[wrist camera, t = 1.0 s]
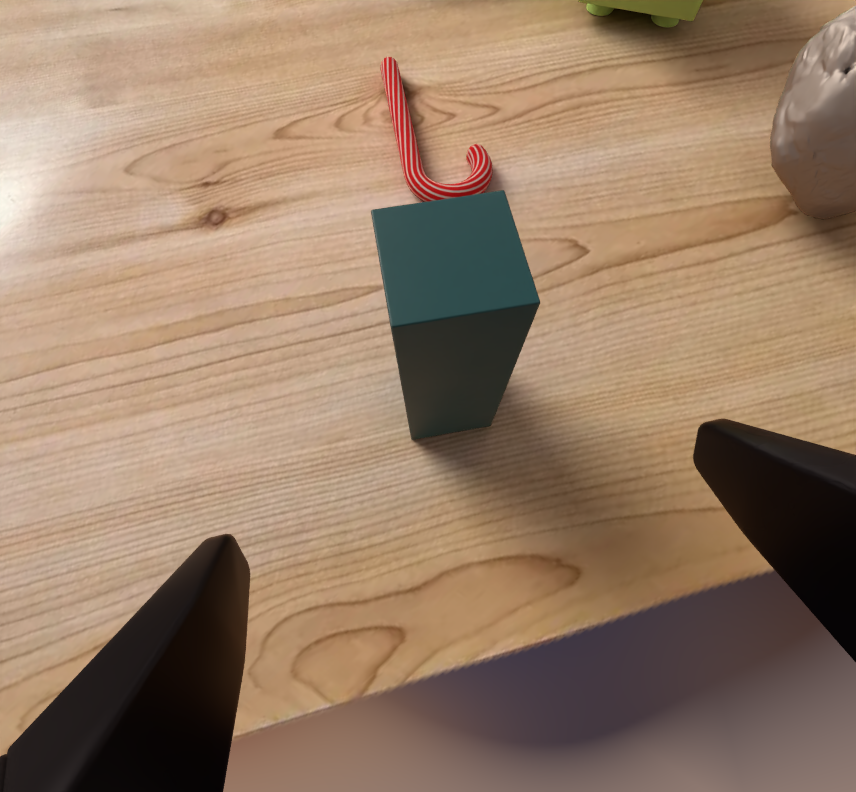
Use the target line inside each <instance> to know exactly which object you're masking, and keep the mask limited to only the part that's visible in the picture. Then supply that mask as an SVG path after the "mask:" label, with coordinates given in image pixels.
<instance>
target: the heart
mask: <svg viewBox="0 0 856 792" xmlns="http://www.w3.org/2000/svg"><path fill="white" fill-rule="evenodd" d="M770 149H771V157H772V167H773V169H774V170H775V172H776V173H777V175H778V177H779V178H780V180H781V181H782V183H783V184H784V185H785V186H786V188H787V189H788V191H789V192H790V193H791V195H792V197H793V200H794V202H795V204H796V205H797V207H798V208H799V209H800V210H801V211H802V212H803V213H804V214H806V215H808V216H812V217H814V218H820V219H828V218H831V217H835V216H839V215H843V214H847V213H851V212H855V211H856V6H854V7H852V8H851V9H849V10H847V11H846V12H844V13H842V14H840V15H839V16H838V17H836V18H835V19H833V20H832V21H829V22H828V23H826V24H825V25H823V26H822V27H821V28H820V32H818V33H817V34H816V35H814V36H813V37H812V38H811V39H810V40H809V41H808V42H807V43H806V44H805V45H804V46H803V48H802V49H801V50H800V51H799V53H798V55H797V57H796V59H795V61H794V62H793V64H792V66H791V69H790V71H789V73H788V76H787V80H786V84H785V87H784V90H783V92H782V94H781V96H780V99H779V102H778V106H777V109H776V113H775V115H774V119H773V126H772V132H771V137H770Z"/></svg>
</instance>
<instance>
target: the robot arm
mask: <svg viewBox="0 0 856 792" xmlns="http://www.w3.org/2000/svg"><path fill="white" fill-rule="evenodd" d="M693 460H694V464H695V466H696V468H697V470H698V471H699V473H700V474H701V476H702V477H703V478H704V480H705V481H706V483H707V484H708V485H709V487H710V488H711V490H712V491H713V492H714V494H715V495H716V496H717V498H718V499H719V501H720V502H721V503H722V505H723V506H724V508H725V509H726V510H727V512H728V513H729V515H730V516H731V517H732V519H733V520H734V521H735V523H736V524H737V525H738V527H739V528H740V529H741V531H742V532H743V533H744V535H745V536H746V537H747V538H748V539H749V541H750V542H751V543H752V544H753V545H754V547H755V548H756V549H757V550H758V551H759V552H760V553H761V555H762V556H763V557H764V558H765V559H766V560H767V561H768V563H769V564H770V565H771V566H772V567H773V568H774V569H775V571H776V572H777V573H778V574H779V575H780V576H781V577H782V579H784V581H785V582H786V583H787V584H788V585H789V587H790V588H791V589H792V590H793V591H794V592H795V593H796V595H797V596H798V597H799V598H800V599H801V600H802V601H803V602H804V604H805V605H806V606H807V607H808V608H809V609H810V611H811V612H812V613H813V614H814V615H815V616H816V617H817V619H818V620H819V621H820V622H821V623H822V624H823V625H824V627H825V628H826V629H827V630H828V631H829V632H830V633H831V635H832V636H833V637H834V638H835V639H836V640H837V641H838V643H839V644H840V645H841V646H842V647H843V648H844V649H845V651H846V652H847V653H848V654H849V655H850V656H851V657H852V658H853V660H854V661H855V662H856V455H854V454H850V453H847V452H843V451H839V450H836V449H832V448H829V447H825V446H821V445H818V444H814V443H811V442H807V441H803V440H800V439H796V438H793V437H789V436H785V435H782V434H778V433H775V432H771V431H767V430H764V429H760V428H757V427H753V426H749V425H746V424H742V423H739V422H735V421H731V420H728V419H717V420H713V421H709V422H705V423H703V424H701V425H700V427H699V429H698V433H697V438H696V444H695V449H694V454H693ZM249 587H250V569H249V565H248V562H247V560H246V558H245V557H244V555H243V553H242V551H241V549H240V547H239V545H238V543H237V542H236V540H235V538H234V537H233V536H232V535H231V534H223V535H219V536H215V537H211V538H208V539H206V540H205V541H204V542H202V544H201V545H200V546H199V547H198V548H197V549H196V550H195V551H194V552H193V553H192V554H191V555H190V556H189V557H188V558H187V559H186V561H185V562H184V563H183V564H182V565H181V566H180V567H179V568H178V569H177V570H176V571H175V572H174V573H173V574H172V575H171V576H170V577H169V579H168V580H167V581H166V582H165V583H164V584H163V585H162V586H161V587H160V588H159V589H158V590H157V591H156V592H155V593H154V594H153V596H152V597H151V598H150V599H149V600H148V601H147V602H146V603H145V604H144V605H143V606H142V607H141V608H140V609H139V610H138V611H137V613H136V614H135V615H134V616H133V617H132V618H131V619H130V620H129V621H128V622H127V623H126V624H125V625H124V626H123V627H122V628H121V630H120V631H119V632H118V633H117V634H116V635H115V636H114V637H113V638H112V639H111V640H110V641H109V642H108V643H107V644H106V645H105V647H104V648H103V649H102V650H101V651H100V652H99V653H98V654H97V655H96V656H95V657H94V658H93V659H92V660H91V661H90V662H89V663H88V665H87V666H86V667H85V668H84V669H83V670H82V671H81V672H80V673H79V674H78V675H77V676H76V677H75V678H74V679H73V680H72V682H71V683H70V684H69V685H68V686H67V687H66V688H65V689H64V690H63V691H62V692H61V693H60V694H59V695H58V696H57V697H56V699H55V700H54V701H53V702H52V703H51V704H50V705H49V706H48V707H47V708H46V709H45V710H44V711H43V712H42V713H41V714H40V715H39V717H38V718H37V719H36V720H35V721H34V722H33V723H32V724H31V725H30V726H29V727H28V728H27V729H26V730H25V731H24V732H23V734H22V735H21V736H20V737H19V738H18V739H17V740H16V741H15V742H14V743H13V744H12V745H11V746H10V748H9V749H8V752H7V754H5V755H2V756H1V757H0V792H223V789H224V783H225V777H226V771H227V765H228V759H229V752H230V747H231V741H232V736H233V730H234V724H235V718H236V712H237V706H238V700H239V694H240V688H241V682H242V676H243V669H244V663H245V652H246V637H247V621H248V604H249Z"/></svg>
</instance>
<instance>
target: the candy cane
mask: <svg viewBox="0 0 856 792" xmlns="http://www.w3.org/2000/svg"><path fill="white" fill-rule="evenodd" d="M381 73H382V78H383V83H384V87H385V92H386V96H387V101H388V105H389V109H390V114H391V118H392V123H393V127H394V132H395V136H396V141H397V145H398V150H399V154H400V159H401V163H402V168H403V172H404V177H405V180H406V183H407V185H408V187H409V188H410V190H411V191H412V192H413V193H414V194H415V195H416V196H417V197H418V198H420V199H421V200H423V201H425V202H428V201H435V200H442V199H448V198H455V197H462V196H468V195H475V194H481V193H483V192H484V191H485V190H486V189H487V187H488V185H489V183H490V181H491V177H492V162H491V160H490V157H489V155H488V153H487V152H486V150H485V149H484V148H483V147H482V146H481V145H478V144H475V145H472V146H471V147H470V148H469V150H468V152H467V162H468V163H469V165H470V166H471V168H472V174H471V175H470V177H469V178H467V179H466V180H464V181H462V182H460V183H456V184H441V183H437V182H434V181H432V180H431V179H429V178H428V177H427V176H426V175H425V173H424V170H423V165H422V162H421V157H420V153H419V149H418V145H417V141H416V137H415V133H414V129H413V125H412V121H411V117H410V113H409V109H408V105H407V101H406V96H405V92H404V88H403V84H402V80H401V76H400V72H399V68H398V64H397V62H396V61H395V59H393V58H392V57H386V58H384V59H383V61H382V62H381Z"/></svg>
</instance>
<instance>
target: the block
mask: <svg viewBox="0 0 856 792" xmlns="http://www.w3.org/2000/svg"><path fill="white" fill-rule="evenodd" d="M371 214H372V220H373V226H374V232H375V238H376V243H377V249H378V255H379V261H380V267H381V273H382V278H383V284H384V290H385V296H386V302H387V308H388V313H389V319H390V325H391V331H392V336H393V341H394V347H395V352H396V358H397V363H398V369H399V374H400V379H401V385H402V390H403V396H404V401H405V407H406V412H407V418H408V423H409V428H410V434H411V439H412V440H414V439H420V438H425V437H431V436H437V435H442V434H448V433H453V432H459V431H464V430H470V429H476V428H481V427H487V426H491V424H492V421H493V419H494V416H495V414H496V411H497V409H498V406H499V404H500V401H501V399H502V396H503V394H504V391H505V389H506V386H507V384H508V381H509V379H510V377H511V374H512V372H513V369H514V367H515V364H516V362H517V359H518V357H519V354H520V352H521V349H522V347H523V344H524V342H525V339H526V337H527V334H528V332H529V329H530V327H531V324H532V322H533V319H534V317H535V314H536V312H537V309H538V307H539V304H540V300H539V297H538V294H537V291H536V288H535V284H534V281H533V278H532V275H531V272H530V269H529V266H528V263H527V260H526V257H525V253H524V250H523V247H522V244H521V241H520V238H519V235H518V232H517V229H516V226H515V223H514V219H513V216H512V213H511V210H510V207H509V204H508V201H507V198H506V195H505V192H504V190H501V191H495V192H488V193H481V194H475V195H468V196H462V197H455V198H448V199H442V200H435V201H428V202H422V203H415V204H408V205H402V206H395V207H388V208H382V209H375V210H372V211H371Z"/></svg>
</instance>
